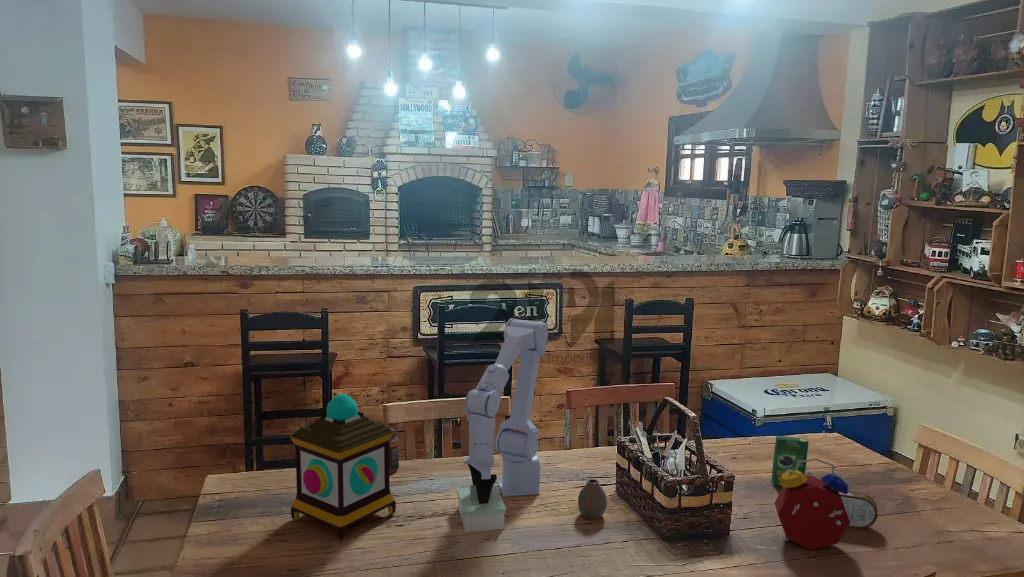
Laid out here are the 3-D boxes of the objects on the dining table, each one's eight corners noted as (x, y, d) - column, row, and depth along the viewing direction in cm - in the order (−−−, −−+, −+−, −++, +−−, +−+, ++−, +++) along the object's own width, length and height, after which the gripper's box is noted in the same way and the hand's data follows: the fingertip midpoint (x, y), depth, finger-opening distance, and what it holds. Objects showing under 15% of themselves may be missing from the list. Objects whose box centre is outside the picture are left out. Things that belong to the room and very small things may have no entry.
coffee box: (802, 484, 192) (806, 437, 190) (805, 488, 189) (809, 441, 187) (771, 481, 194) (774, 434, 192) (772, 485, 191) (776, 438, 189)
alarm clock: (841, 540, 162) (849, 456, 159) (849, 560, 154) (858, 471, 151) (771, 532, 166) (778, 449, 162) (776, 551, 157) (783, 464, 154)
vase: (610, 512, 174) (611, 478, 173) (601, 524, 168) (602, 489, 166) (583, 506, 177) (584, 472, 175) (573, 518, 171) (574, 483, 169)
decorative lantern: (347, 491, 183) (345, 377, 178) (404, 513, 172) (404, 391, 167) (281, 521, 167) (277, 396, 162) (339, 547, 156) (337, 414, 151)
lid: (495, 491, 176) (496, 474, 176) (505, 515, 164) (506, 496, 163) (457, 494, 174) (457, 476, 174) (464, 518, 162) (464, 499, 162)
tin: (875, 527, 169) (878, 493, 168) (877, 533, 166) (880, 498, 165) (806, 516, 174) (809, 483, 173) (806, 522, 171) (809, 488, 170)
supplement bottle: (401, 466, 199) (401, 427, 198) (395, 474, 193) (395, 434, 192) (380, 464, 200) (379, 425, 198) (374, 473, 194) (373, 433, 192)
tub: (494, 505, 177) (495, 490, 176) (504, 528, 165) (504, 512, 164) (458, 508, 175) (458, 492, 174) (465, 532, 163) (465, 515, 163)
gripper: (460, 430, 173) (459, 484, 175) (468, 453, 159) (468, 511, 161) (489, 429, 174) (488, 482, 177) (500, 451, 160) (499, 508, 163)
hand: (480, 495), depth 169 cm, fingers open, 7 cm apart
